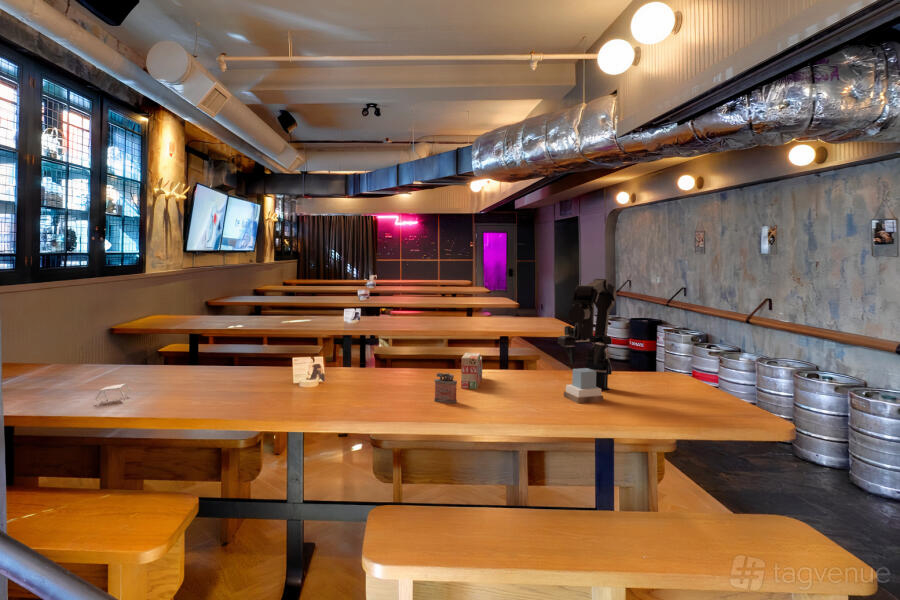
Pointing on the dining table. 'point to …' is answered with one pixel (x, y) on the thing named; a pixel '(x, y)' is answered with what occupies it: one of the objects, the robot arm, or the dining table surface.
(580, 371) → the slate block
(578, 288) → the robot arm
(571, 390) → the tower top
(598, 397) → the tower bottom
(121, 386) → the origami figure
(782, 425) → the dining table surface
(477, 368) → the printed cardboard box
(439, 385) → the lighter
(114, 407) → the dining table surface
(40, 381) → the dining table surface
